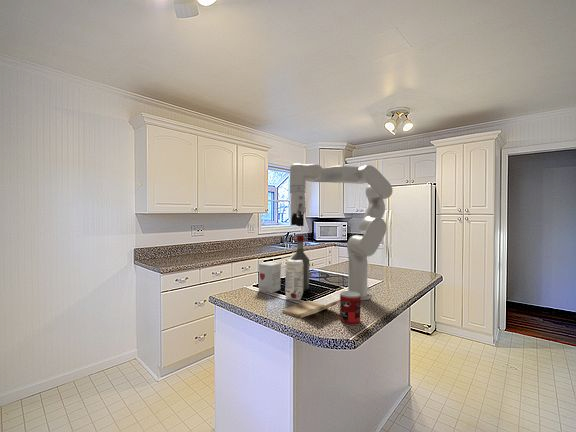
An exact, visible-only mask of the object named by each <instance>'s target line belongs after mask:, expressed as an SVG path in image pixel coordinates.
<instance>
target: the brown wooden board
mask: <svg viewBox="0 0 576 432" xmlns="http://www.w3.org/2000/svg"><path fill="white" fill-rule="evenodd" d="M324 305H325V304H324V303H323V304H322V303H319V302H315V301H312V300H306V301H303V302H300V303H298V304H295V305H292V306H290V307H287V308H284V309H282V313H284V314H286V315H289V316H292V317H296V318H298V319H300V318H301V317H300V315H301V314H304V313H306V312H309V311H311V310H314V309H316V308H319V307H321V306H324Z"/></svg>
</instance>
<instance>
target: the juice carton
mask: <svg viewBox="0 0 576 432" xmlns="http://www.w3.org/2000/svg"><path fill="white" fill-rule="evenodd" d="M303 276H304V265H303V260H291V258H290V259H287V260H286V263H285V277H284V278H285V282H284V284H285V285H284V286H285V291H284V293H285V299H286V300H294V301H301V299H302V297H303V294H304V290H303Z"/></svg>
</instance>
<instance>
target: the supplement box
mask: <svg viewBox="0 0 576 432" xmlns="http://www.w3.org/2000/svg"><path fill="white" fill-rule="evenodd" d="M281 267H282V263H281V262H275V261H273V262H272V261H266V262H261V263H259V264H258V291H259V292H263V293H267V294H274V293H276V292H278V291H280V290H281V278H282V277H281V275H282V273H281V272H282V269H281Z"/></svg>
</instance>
